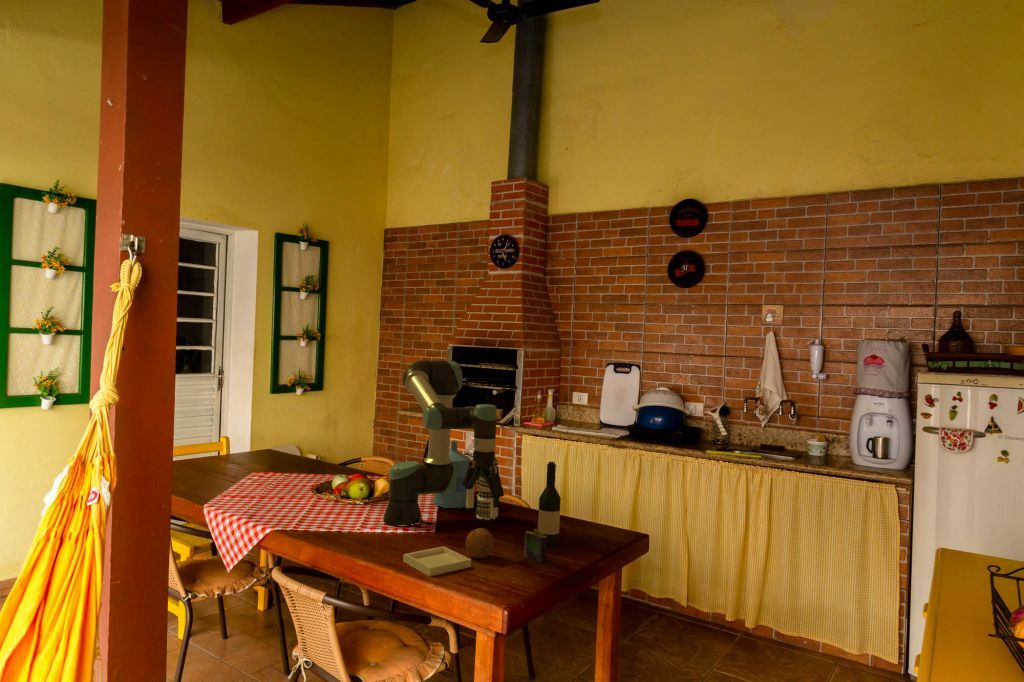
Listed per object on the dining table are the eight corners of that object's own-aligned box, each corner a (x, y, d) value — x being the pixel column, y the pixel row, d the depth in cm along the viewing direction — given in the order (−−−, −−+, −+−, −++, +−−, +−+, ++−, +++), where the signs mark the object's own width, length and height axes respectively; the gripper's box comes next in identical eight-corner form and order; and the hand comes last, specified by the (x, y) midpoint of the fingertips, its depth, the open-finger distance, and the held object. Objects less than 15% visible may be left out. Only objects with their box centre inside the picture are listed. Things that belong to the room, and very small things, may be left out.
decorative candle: (472, 519, 282) (475, 458, 282) (477, 513, 292) (480, 454, 291) (494, 521, 281) (497, 460, 281) (499, 515, 290) (501, 456, 290)
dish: (403, 561, 227) (403, 554, 227) (443, 553, 238) (443, 546, 238) (429, 576, 215) (429, 568, 215) (470, 566, 225) (471, 559, 225)
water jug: (432, 500, 310) (435, 438, 310) (466, 500, 313) (469, 439, 313) (434, 509, 295) (437, 444, 295) (471, 509, 298) (473, 445, 297)
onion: (485, 551, 242) (486, 523, 242) (498, 560, 233) (499, 531, 233) (460, 554, 237) (461, 525, 237) (472, 564, 228) (473, 534, 228)
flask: (522, 557, 238) (524, 526, 237) (527, 555, 240) (529, 525, 240) (542, 564, 231) (544, 532, 231) (548, 562, 234) (550, 531, 233)
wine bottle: (562, 542, 257) (566, 462, 257) (552, 547, 250) (556, 465, 250) (543, 537, 261) (546, 459, 261) (532, 543, 254) (536, 462, 254)
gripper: (454, 445, 242) (451, 505, 242) (498, 456, 223) (495, 522, 223) (471, 443, 247) (468, 502, 247) (516, 455, 227) (513, 518, 228)
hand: (481, 512), depth 235 cm, fingers open, 13 cm apart
